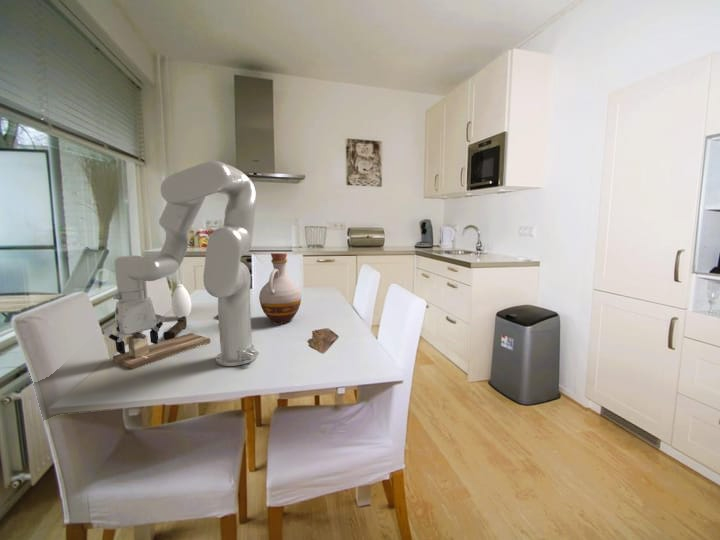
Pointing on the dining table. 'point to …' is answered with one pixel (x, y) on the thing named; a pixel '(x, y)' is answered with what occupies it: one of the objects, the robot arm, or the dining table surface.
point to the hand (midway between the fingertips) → (138, 348)
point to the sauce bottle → (181, 301)
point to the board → (162, 350)
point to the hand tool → (175, 329)
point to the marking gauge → (138, 345)
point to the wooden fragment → (322, 339)
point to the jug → (280, 293)
